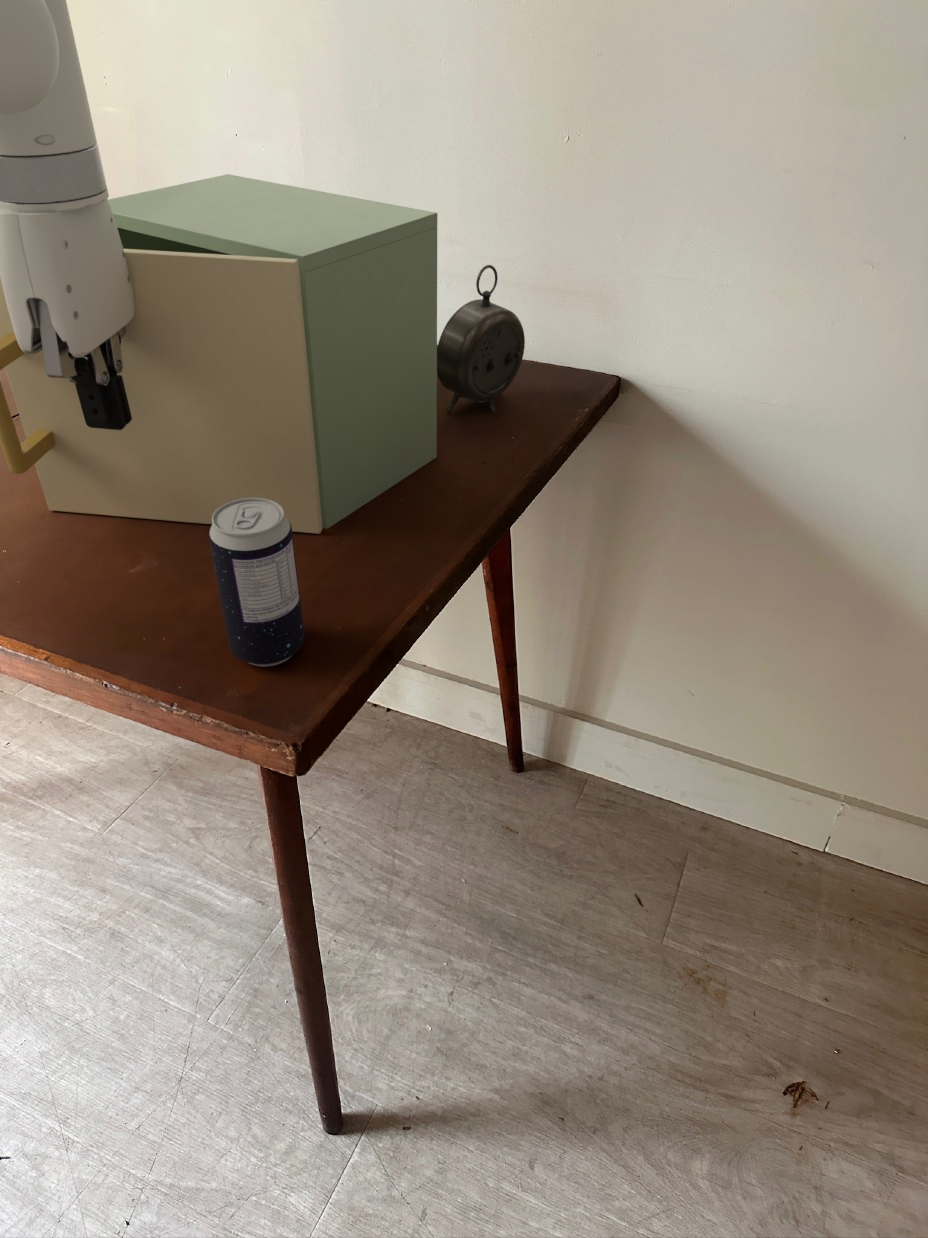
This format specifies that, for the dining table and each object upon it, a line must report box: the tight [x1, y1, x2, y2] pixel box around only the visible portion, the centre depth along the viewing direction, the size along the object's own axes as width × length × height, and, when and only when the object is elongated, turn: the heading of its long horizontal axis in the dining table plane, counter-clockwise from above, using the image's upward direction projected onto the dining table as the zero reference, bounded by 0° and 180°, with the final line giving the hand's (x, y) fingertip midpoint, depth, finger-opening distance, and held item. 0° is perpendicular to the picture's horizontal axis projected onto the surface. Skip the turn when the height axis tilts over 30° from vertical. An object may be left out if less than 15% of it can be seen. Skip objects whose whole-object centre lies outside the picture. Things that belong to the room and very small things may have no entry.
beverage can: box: [208, 498, 305, 668], centre depth 63 cm, size 6×6×12 cm
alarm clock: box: [437, 264, 526, 414], centre depth 99 cm, size 11×5×16 cm, turn 134°
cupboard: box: [108, 173, 438, 530], centre depth 85 cm, size 18×26×24 cm
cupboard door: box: [0, 249, 324, 535], centre depth 72 cm, size 7×26×24 cm, turn 83°
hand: (109, 424), depth 70 cm, fingers closed
